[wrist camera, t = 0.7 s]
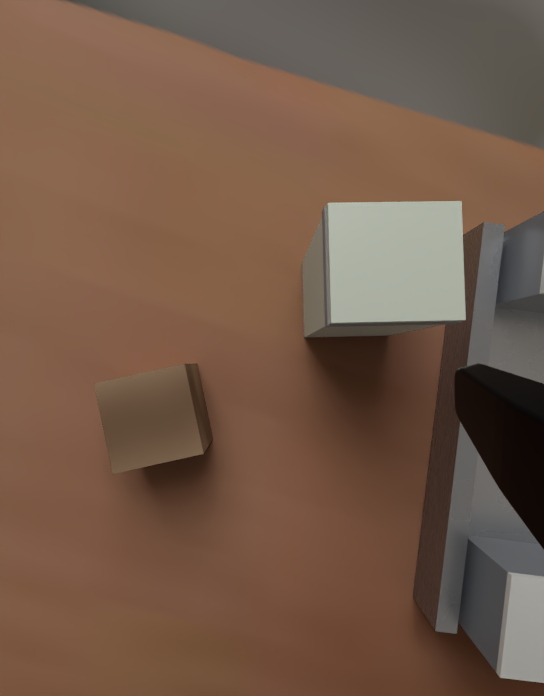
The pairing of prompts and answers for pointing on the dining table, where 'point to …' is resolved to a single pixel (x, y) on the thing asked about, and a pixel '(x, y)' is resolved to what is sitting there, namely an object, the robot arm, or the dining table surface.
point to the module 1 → (522, 267)
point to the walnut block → (154, 417)
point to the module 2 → (505, 605)
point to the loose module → (384, 269)
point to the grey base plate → (453, 441)
